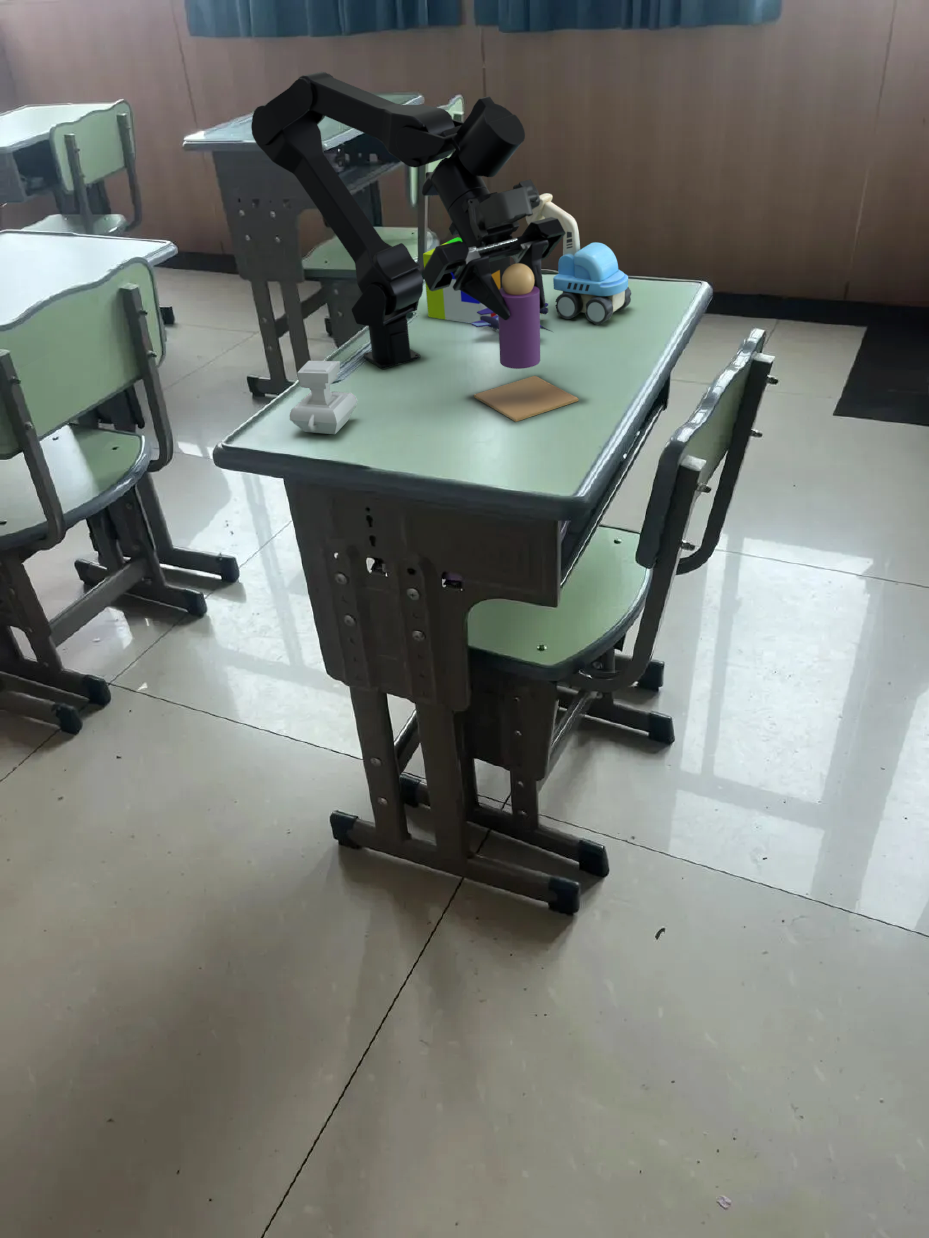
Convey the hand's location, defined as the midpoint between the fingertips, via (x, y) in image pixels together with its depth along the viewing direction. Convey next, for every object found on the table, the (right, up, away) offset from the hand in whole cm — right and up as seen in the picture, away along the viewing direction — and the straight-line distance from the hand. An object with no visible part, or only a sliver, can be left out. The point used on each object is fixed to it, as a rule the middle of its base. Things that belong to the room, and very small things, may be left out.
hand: (525, 313), depth 113 cm
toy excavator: (+11, +12, +35) cm, 38 cm away
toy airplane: (+1, +6, +28) cm, 29 cm away
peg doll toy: (0, -5, +5) cm, 7 cm away
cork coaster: (+1, -9, +9) cm, 12 cm away
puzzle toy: (-7, +13, +38) cm, 41 cm away
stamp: (-25, -13, +5) cm, 29 cm away
